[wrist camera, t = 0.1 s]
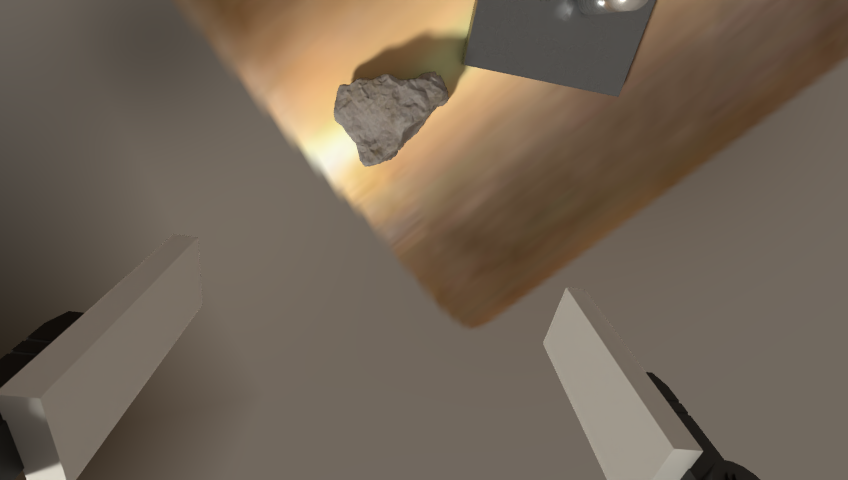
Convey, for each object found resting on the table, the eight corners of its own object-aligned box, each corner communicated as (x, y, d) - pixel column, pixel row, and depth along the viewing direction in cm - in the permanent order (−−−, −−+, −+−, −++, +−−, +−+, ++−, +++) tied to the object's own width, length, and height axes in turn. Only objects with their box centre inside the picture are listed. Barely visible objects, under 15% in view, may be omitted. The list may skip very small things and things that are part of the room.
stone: (413, 31, 36) (416, 31, 31) (458, 111, 39) (468, 122, 34) (325, 95, 38) (314, 105, 33) (375, 165, 41) (372, 184, 36)
